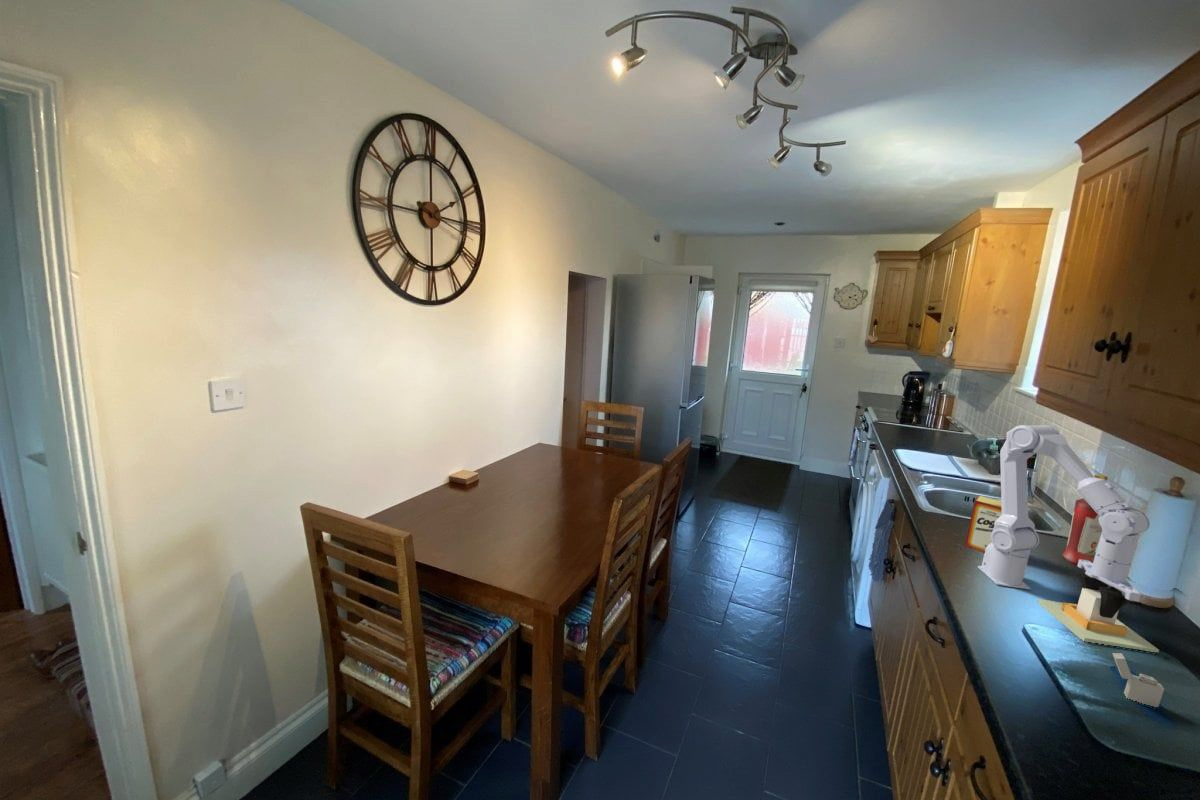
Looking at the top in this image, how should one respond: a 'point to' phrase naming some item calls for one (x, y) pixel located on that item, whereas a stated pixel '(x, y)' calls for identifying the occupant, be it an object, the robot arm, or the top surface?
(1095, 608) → the chute block
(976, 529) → the baking soda box
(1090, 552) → the liquor
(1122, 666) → the lighter
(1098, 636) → the deck
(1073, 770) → the top surface
